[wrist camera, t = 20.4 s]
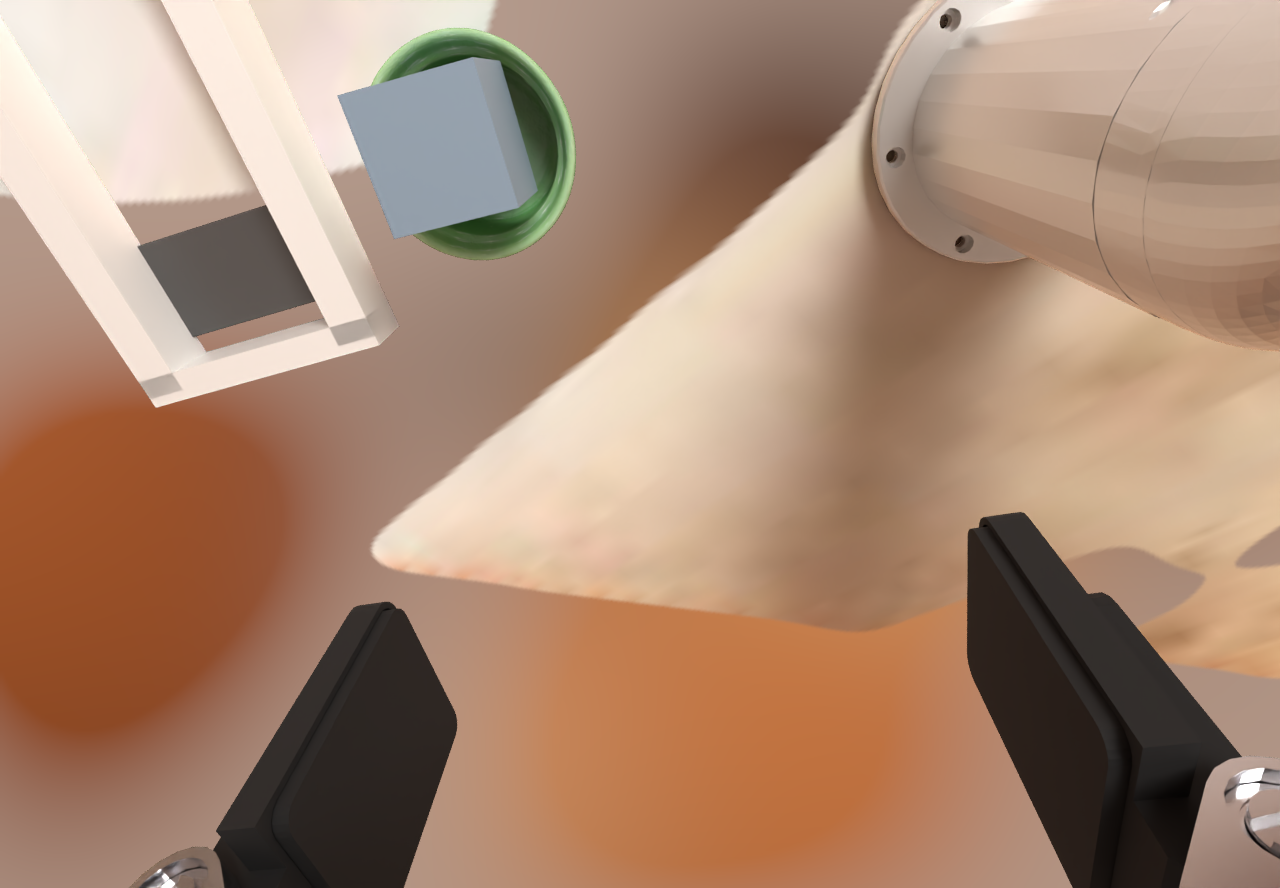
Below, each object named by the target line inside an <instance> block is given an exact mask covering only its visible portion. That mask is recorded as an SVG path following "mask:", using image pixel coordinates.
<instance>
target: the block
mask: <svg viewBox="0 0 1280 888" xmlns="http://www.w3.org/2000/svg"><path fill="white" fill-rule="evenodd" d="M338 98H339V101H340V104H341V106H342V109H343V111H344V114H345V116H346V119H347V121H348V124H349V126H350V129H351V131H352V134H353V136H354V139H355V141H356V144H357V146H358V149H359V151H360V154H361V157H362V159H363V162H364V164H365V167H366V169H367V171H368V174H369V177H370V179H371V182H372V184H373V187H374V189H375V192H376V194H377V196H378V199H379V202H380V204H381V207H382V209H383V212H384V215H385V217H386V220H387V222H388V224H389V227H390V230H391V232H392V235H393V237H394V239H396V238H401V237H405V236H409V235H413V234H417V233H421V232H425V231H429V230H432V229H436V228H440V227H444V226H448V225H452V224H456V223H460V222H464V221H468V220H472V219H476V218H480V217H484V216H488V215H492V214H496V213H500V212H504V211H508V210H512V209H516V208H519V207H520V206H521V205H523V204H524V203H525V202H526V201H527V200H528V199H529V198H530V197H531V196H533V195H534V194H535V193H536V192H537V191H538V189H537V186H536V182H535V179H534V175H533V172H532V168H531V165H530V162H529V158H528V155H527V151H526V148H525V144H524V141H523V138H522V134H521V131H520V127H519V124H518V120H517V117H516V114H515V110H514V107H513V103H512V100H511V96H510V93H509V90H508V86H507V83H506V79H505V76H504V72H503V69H502V66H501V62H500V61H498V60H491V59H483V58H476V57H471V58H468V59H464V60H461V61H457V62H454V63H450V64H447V65H443V66H440V67H436V68H433V69H429V70H425V71H422V72H418V73H415V74H411V75H408V76H404V77H401V78H397V79H394V80H390V81H387V82H383V83H380V84H376V85H373V86H369V87H366V88H362V89H359V90H355V91H352V92H348V93H345V94H341V95H338Z"/></svg>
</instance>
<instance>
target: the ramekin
mask: <svg viewBox="0 0 1280 888" xmlns="http://www.w3.org/2000/svg"><path fill="white" fill-rule="evenodd" d="M471 57H476V58H483V59H491V60H498V61H500V62H501V66H502V69H503V72H504V76H505V79H506V83H507V86H508V90H509V93H510V96H511V100H512V103H513V107H514V110H515V114H516V117H517V120H518V124H519V127H520V131H521V134H522V138H523V141H524V144H525V148H526V151H527V155H528V158H529V162H530V165H531V168H532V172H533V175H534V179H535V182H536V186H537V189H538V191H537V192H536V193H535V194H534V195H533V196H531V197H530V198H529V199H528V200H527V201H526V202H525V203H524V204H523V205H521V206H520V207H519V208H516V209H512V210H508V211H504V212H500V213H496V214H492V215H488V216H484V217H480V218H476V219H472V220H468V221H464V222H460V223H456V224H452V225H448V226H444V227H440V228H436V229H432V230H429V231H425V232H421V233H417V234H413V235H414V236H415V237H416V238H418V239H419V240H421V241H422V242H424V243H425V244H427V245H428V246H430V247H432V248H434V249H436V250H438V251H440V252H443V253H446V254H448V255H452V256H455V257H460V258H464V259H471V260H493V259H499V258H503V257H507V256H511V255H513V254H516V253H518V252H520V251H522V250H524V249H526V248H528V247H530V246H531V245H533V244H534V243H536V242H537V241H538V240H540V239H541V238H542V237H543V236H544V235H545V234H546V233H547V232H548V231H549V230H550V229H551V227H552V226H553V225H554V224H555V223H556V221H557V219H558V218H559V217H560V215H561V213H562V211H563V210H564V208H565V206H566V203H567V201H568V198H569V196H570V192H571V189H572V185H573V181H574V176H575V167H576V149H575V140H574V133H573V128H572V124H571V120H570V117H569V114H568V111H567V109H566V107H565V104H564V102H563V100H562V98H561V96H560V94H559V92H558V91H557V89H556V88H555V86H554V85H553V83H552V82H551V80H550V79H549V78H548V76H547V75H546V74H545V73H544V71H543V70H542V69H541V68H540V67H539V66H538V65H537V64H536V63H535V62H534V61H533V60H532V59H531V58H530V57H529V56H528V55H527V54H525V53H524V52H523V51H522V50H520V49H519V48H517V47H516V46H514V45H513V44H511V43H510V42H508V41H506V40H504V39H502V38H499V37H497V36H495V35H492V34H490V33H487V32H483V31H479V30H475V29H468V28H447V29H441V30H436V31H432V32H429V33H426V34H423V35H421V36H419V37H417V38H415V39H413V40H411V41H410V42H408V43H406V44H405V45H404V46H402V47H401V48H400V49H398V50H397V51H396V52H395V53H394V54H393V55H392V56H391V57H390V58H389V59H388V60H387V61H386V62H385V63H384V65H383V66H382V68H381V69H380V70H379V71H378V73H377V75H376V77H375V78H374V80H373V82H372V85H371V86H373V85H376V84H380V83H383V82H387V81H390V80H394V79H397V78H401V77H404V76H408V75H411V74H415V73H418V72H422V71H425V70H429V69H433V68H436V67H440V66H443V65H447V64H450V63H454V62H457V61H461V60H464V59H468V58H471Z"/></svg>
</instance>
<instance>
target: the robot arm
mask: <svg viewBox="0 0 1280 888" xmlns="http://www.w3.org/2000/svg"><path fill="white" fill-rule="evenodd" d="M943 15H946V16H947V18H948V24H947V25H946V27H945V28H941V27H940V24H939V23H940V18H941V16H943ZM871 142H872V156H873V168H874V172H875V176H876V179H877V183H878V187H879V191H880V193H881V195H882V197H883V199H884V201H885V203H886V205H887V207H888V209H889V211H890V213H891V214H892V216H893V217H894V218H895V219H896V220H897V222H898V223H899V224H900V225H901V226H902V228H903V229H904V230H905V231H906V232H907V233H908V234H910V235H911V236H912V237H914V238H915V239H916V240H918V241H919V242H920V243H922V244H923V245H924V246H926V247H928V248H930V249H932V250H934V251H935V252H937V253H939V254H941V255H944V256H947V257H949V258H952V259H955V260H959V261H964V262H973V263H982V264H990V263H1003V262H1012V261H1016V260H1020V259H1024V258H1028V257H1030V258H1032V259H1035V260H1037V261H1039V262H1041V263H1043V264H1045V265H1047V266H1049V267H1051V268H1054V269H1056V270H1058V271H1060V272H1062V273H1064V274H1066V275H1068V276H1070V277H1073V278H1075V279H1077V280H1079V281H1081V282H1083V283H1085V284H1087V285H1090V286H1092V287H1094V288H1096V289H1098V290H1100V291H1102V292H1104V293H1106V294H1109V295H1111V296H1113V297H1115V298H1117V299H1119V300H1121V301H1123V302H1125V303H1128V304H1130V305H1132V306H1134V307H1136V308H1138V309H1140V310H1142V311H1145V312H1147V313H1149V314H1151V315H1153V316H1155V317H1158V318H1161V319H1164V320H1166V321H1168V322H1170V323H1172V324H1175V325H1177V326H1179V327H1181V328H1183V329H1186V330H1188V331H1191V332H1193V333H1196V334H1198V335H1201V336H1203V337H1206V338H1209V339H1211V340H1214V341H1218V342H1221V343H1225V344H1229V345H1233V346H1237V347H1242V348H1247V349H1255V350H1265V351H1280V0H938V1H937V2H936V3H935V4H934V5H933V6H932V7H931V9H930V10H929V11H928V12H927V13H926V14H925V15H924V16H923V17H922V18H921V19H920V20H919V22H918V23H917V24H916V25H915V26H914V28H913V29H912V31H911V32H910V34H909V35H908V37H907V38H906V40H905V41H904V43H903V44H902V46H901V47H900V49H899V50H898V52H897V53H896V55H895V57H894V59H893V62H892V64H891V66H890V68H889V70H888V72H887V75H886V77H885V79H884V81H883V84H882V87H881V91H880V94H879V98H878V101H877V105H876V108H875V113H874V122H873V131H872V140H871ZM891 150H893V151H894V153H895V157H894V159H893V160H892V161H890V162H888V161H887V160H886V155H887V154H888V152H889V151H891ZM960 236H961V237H962V240H961V242H960V244H958V245H955V242H956V240H957V239H958V238H959V237H960ZM967 603H968V604H967V658H968V664H969V668H970V671H971V674H972V677H973V679H974V682H975V684H976V686H977V688H978V690H979V692H980V694H981V696H982V698H983V701H984V703H985V705H986V707H987V709H988V711H989V713H990V715H991V717H992V719H993V721H994V724H995V726H996V728H997V730H998V732H999V734H1000V736H1001V738H1002V740H1003V742H1004V744H1005V747H1006V749H1007V751H1008V753H1009V755H1010V757H1011V759H1012V761H1013V763H1014V765H1015V768H1016V770H1017V772H1018V774H1019V776H1020V778H1021V780H1022V782H1023V784H1024V786H1025V788H1026V791H1027V793H1028V795H1029V797H1030V799H1031V801H1032V803H1033V805H1034V807H1035V810H1036V812H1037V814H1038V816H1039V818H1040V820H1041V822H1042V824H1043V826H1044V828H1045V830H1046V833H1047V834H1048V837H1049V839H1050V841H1051V843H1052V845H1053V847H1054V849H1055V851H1056V854H1057V855H1058V858H1059V860H1060V862H1061V864H1062V866H1063V868H1064V870H1065V872H1066V874H1067V877H1068V879H1069V881H1070V883H1071V885H1072V887H1073V888H1280V759H1278V758H1272V757H1260V756H1246V757H1242V756H1241V755H1240V754H1239V753H1238V752H1237V750H1236V749H1235V748H1234V747H1233V746H1232V744H1231V743H1230V742H1229V740H1228V739H1227V738H1226V737H1225V736H1224V734H1223V733H1222V732H1221V731H1220V730H1219V728H1218V727H1217V726H1216V725H1215V723H1214V722H1213V721H1212V720H1211V719H1210V717H1209V716H1208V715H1207V713H1206V712H1205V711H1204V710H1203V709H1202V707H1201V706H1200V705H1199V704H1198V702H1197V701H1196V700H1195V699H1194V697H1193V696H1192V695H1191V694H1190V693H1189V691H1188V690H1187V689H1186V688H1185V686H1184V685H1183V684H1182V683H1181V682H1180V680H1179V679H1178V678H1177V677H1176V676H1175V674H1174V673H1173V672H1172V670H1171V669H1170V668H1169V667H1168V666H1167V664H1166V663H1165V662H1164V661H1163V659H1162V658H1161V657H1160V656H1159V654H1158V653H1157V652H1156V651H1155V650H1154V648H1153V647H1152V646H1151V645H1150V643H1149V642H1148V641H1147V640H1146V639H1145V637H1144V636H1143V635H1142V634H1141V632H1140V631H1139V630H1138V629H1137V627H1136V626H1135V625H1134V624H1133V623H1132V621H1131V620H1130V619H1129V618H1128V616H1127V615H1126V614H1125V613H1124V612H1123V610H1122V609H1121V608H1120V607H1119V605H1118V604H1117V603H1116V602H1115V601H1114V600H1113V599H1112V598H1111V597H1110V596H1108V595H1106V594H1104V593H1102V592H1101V593H1094V594H1087V593H1086V591H1085V590H1084V589H1083V587H1082V586H1081V585H1080V584H1079V582H1078V581H1077V580H1076V578H1075V577H1074V576H1073V574H1072V573H1071V572H1070V571H1069V569H1068V568H1067V567H1066V565H1065V564H1064V563H1063V562H1062V560H1061V559H1060V558H1059V556H1058V555H1057V554H1056V552H1055V551H1054V550H1053V549H1052V547H1051V546H1050V545H1049V543H1048V542H1047V541H1046V540H1045V538H1044V537H1043V536H1042V534H1041V533H1040V532H1039V530H1038V529H1037V528H1036V527H1035V525H1034V524H1033V523H1032V521H1031V520H1030V519H1029V518H1028V516H1027V515H1026V514H1025V513H1022V512H1018V513H1011V514H1003V515H996V516H989V517H983V518H982V519H981V520H980V523H979V528H973V529H970V530H969V532H968V591H967ZM456 731H457V718H456V714H455V711H454V709H453V707H452V705H451V703H450V701H449V699H448V697H447V695H446V693H445V692H444V689H443V687H442V685H441V684H440V681H439V679H438V677H437V675H436V673H435V671H434V669H433V667H432V665H431V663H430V661H429V659H428V657H427V655H426V653H425V651H424V649H423V647H422V645H421V643H420V641H419V639H418V637H417V636H416V633H415V632H414V629H413V627H412V625H411V623H410V621H409V619H408V617H407V615H406V614H405V612H404V611H403V610H402V609H396V607H395V606H394V605H393V604H392V603H390V602H381V603H374V604H367V605H360V606H356V607H354V608H353V609H352V610H351V612H350V613H349V615H348V616H347V618H346V620H345V621H344V623H343V624H342V626H341V628H340V629H339V631H338V633H337V634H336V636H335V637H334V639H333V641H332V642H331V644H330V646H329V647H328V649H327V651H326V652H325V654H324V655H323V657H322V659H321V660H320V662H319V664H318V665H317V667H316V668H315V670H314V672H313V673H312V675H311V677H310V678H309V680H308V682H307V683H306V685H305V686H304V688H303V690H302V691H301V693H300V695H299V696H298V698H297V699H296V701H295V703H294V704H293V706H292V708H291V709H290V711H289V712H288V714H287V716H286V717H285V719H284V721H283V722H282V724H281V726H280V727H279V729H278V730H277V732H276V734H275V735H274V737H273V739H272V740H271V742H270V743H269V745H268V747H267V748H266V750H265V752H264V753H263V755H262V757H261V758H260V760H259V762H258V763H257V765H256V767H255V768H254V770H253V771H252V773H251V774H250V776H249V778H248V779H247V781H246V783H245V784H244V786H243V788H242V789H241V791H240V793H239V794H238V796H237V797H236V799H235V801H234V802H233V804H232V805H231V807H230V809H229V810H228V812H227V814H226V815H225V817H224V819H223V820H222V822H221V823H220V825H219V827H218V828H217V830H216V832H217V833H218V834H219V835H220V836H221V838H220V840H219V841H218V843H217V845H216V846H215V848H214V850H211V849H209V848H207V847H191V848H188V849H185V850H181V851H178V852H176V853H174V854H172V855H170V856H169V857H166V858H165V859H163V860H161V861H159V862H158V863H157V864H155V865H154V866H153V867H151V868H150V869H149V870H147V871H146V872H145V873H144V874H142V875H141V876H140V877H139V878H138V879H137V880H136V881H135V882H134V883H133V884H132V885H131V886H130V887H129V888H404V885H405V882H406V879H407V876H408V873H409V871H410V867H411V865H412V862H413V859H414V856H415V853H416V850H417V847H418V844H419V841H420V838H421V835H422V832H423V829H424V827H425V824H426V821H427V817H428V815H429V812H430V809H431V806H432V803H433V800H434V797H435V794H436V791H437V788H438V785H439V782H440V780H441V777H442V774H443V771H444V768H445V765H446V762H447V759H448V756H449V753H450V750H451V747H452V744H453V741H454V738H455V735H456Z"/></svg>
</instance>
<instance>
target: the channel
mask: <svg viewBox="0 0 1280 888" xmlns="http://www.w3.org/2000/svg"><path fill="white" fill-rule="evenodd" d="M161 1H162V3H163V5H164V7H165V9H166V11H167V13H168V15H169V17H170V19H171V21H172V23H173V25H174V26H175V28H176V30H177V32H178V34H179V36H180V38H181V40H182V42H183V44H184V46H185V48H186V50H187V52H188V54H189V56H190V58H191V60H192V62H193V63H194V65H195V67H196V69H197V71H198V73H199V75H200V77H201V79H202V81H203V83H204V85H205V87H206V89H207V91H208V93H209V95H210V97H211V99H212V100H213V102H214V104H215V106H216V108H217V110H218V112H219V114H220V116H221V118H222V120H223V122H224V124H225V126H226V128H227V130H228V132H229V134H230V136H231V137H232V139H233V141H234V143H235V145H236V147H237V149H238V151H239V153H240V155H241V157H242V159H243V161H244V163H245V165H246V167H247V169H248V171H249V173H250V174H251V176H252V178H253V180H254V182H255V184H256V186H257V188H258V190H259V192H260V194H261V196H262V198H263V200H264V202H265V204H266V205H265V206H262V207H259V208H256V209H252V210H249V211H246V212H243V213H240V214H237V215H234V216H231V217H228V218H224V219H221V220H218V221H215V222H212V223H209V224H206V225H202V226H200V227H196V228H193V229H190V230H187V231H184V232H181V233H178V234H174V235H172V236H168V237H165V238H162V239H159V240H156V241H153V242H149V243H146V244H143V245H141V244H140V243H139V241H138V240H137V238H136V237H135V235H134V233H133V232H132V230H131V228H130V226H129V225H128V223H127V222H126V220H125V218H124V217H123V215H122V214H121V212H120V210H119V208H118V207H117V205H116V204H115V202H114V200H113V199H112V197H111V195H110V194H109V192H108V190H107V189H106V187H105V186H104V184H103V182H102V181H101V179H100V177H99V176H98V174H97V172H96V171H95V169H94V168H93V166H92V164H91V163H90V161H89V159H88V158H87V156H86V154H85V153H84V151H83V149H82V148H81V146H80V145H79V143H78V141H77V140H76V138H75V136H74V135H73V133H72V131H71V130H70V128H69V127H68V125H67V123H66V122H65V120H64V118H63V117H62V115H61V113H60V112H59V110H58V109H57V107H56V105H55V104H54V102H53V100H52V99H51V97H50V95H49V94H48V92H47V91H46V89H45V87H44V86H43V84H42V82H41V81H40V79H39V77H38V76H37V74H36V73H35V71H34V69H33V68H32V66H31V64H30V63H29V61H28V59H27V58H26V56H25V55H24V53H23V51H22V50H21V48H20V46H19V45H18V43H17V41H16V40H15V38H14V37H13V35H12V33H11V32H10V30H9V28H8V27H7V25H6V23H5V22H4V20H3V19H2V17H1V15H0V177H1V179H2V180H3V181H4V183H5V184H6V186H7V187H8V189H9V190H10V192H11V193H12V195H13V196H14V198H15V199H16V201H17V202H18V204H19V205H20V207H21V208H22V210H23V211H24V213H25V214H26V215H27V217H28V219H29V220H30V221H31V223H32V225H33V226H34V227H35V229H36V230H37V232H38V233H39V235H40V236H41V238H42V239H43V241H44V242H45V243H46V245H47V247H48V248H49V250H50V251H51V253H52V254H53V256H54V257H55V258H56V260H57V262H58V263H59V265H60V266H61V267H62V269H63V271H64V272H65V273H66V275H67V276H68V278H69V279H70V281H71V282H72V284H73V285H74V287H75V288H76V290H77V291H78V293H79V294H80V296H81V297H82V299H83V300H84V301H85V303H86V305H87V306H88V308H89V309H90V311H91V312H92V314H93V315H94V317H95V318H96V319H97V321H98V322H99V324H100V325H101V327H102V328H103V330H104V331H105V333H106V334H107V336H108V337H109V339H110V340H111V342H112V343H113V345H114V346H115V348H116V349H117V351H118V352H119V354H120V355H121V357H122V358H123V359H124V361H125V363H126V364H127V365H128V367H129V368H130V370H131V371H132V373H133V374H134V376H135V377H136V379H137V380H138V382H139V383H140V385H141V386H142V388H143V389H144V391H145V392H146V394H147V395H148V397H149V398H150V400H151V401H152V402H153V404H154V405H155V407H160V406H164V405H167V404H171V403H174V402H178V401H181V400H185V399H189V398H192V397H196V396H199V395H203V394H207V393H210V392H214V391H217V390H221V389H224V388H228V387H232V386H235V385H239V384H243V383H246V382H250V381H253V380H257V379H260V378H264V377H268V376H271V375H274V374H278V373H282V372H285V371H289V370H292V369H296V368H299V367H303V366H307V365H310V364H314V363H318V362H322V361H325V360H329V359H332V358H336V357H339V356H343V355H347V354H350V353H354V352H357V351H361V350H365V349H368V348H372V347H375V346H379V345H380V344H381V343H382V342H383V341H385V340H386V339H387V338H388V337H389V336H390V335H391V334H392V333H393V332H394V331H395V330H396V329H397V328H398V327H399V324H398V322H397V320H396V318H395V315H394V313H393V311H392V309H391V307H390V305H389V302H388V300H387V298H386V296H385V294H384V292H383V290H382V287H381V285H380V283H379V281H378V279H377V277H376V275H375V272H374V270H373V268H372V266H371V264H370V262H369V259H368V257H367V255H366V253H365V251H364V249H363V246H362V244H361V242H360V240H359V238H358V236H357V233H356V231H355V229H354V227H353V225H352V223H351V221H350V218H349V216H348V214H347V212H346V210H345V208H344V206H343V203H342V201H341V199H340V197H339V195H338V193H337V190H336V188H335V186H334V184H333V182H332V180H331V177H330V175H329V173H328V171H327V169H326V167H325V164H324V162H323V160H322V158H321V156H320V154H319V151H318V149H317V147H316V145H315V143H314V141H313V138H312V136H311V134H310V132H309V130H308V128H307V126H306V123H305V121H304V119H303V117H302V115H301V113H300V110H299V108H298V106H297V104H296V102H295V100H294V97H293V95H292V93H291V91H290V89H289V87H288V85H287V82H286V80H285V78H284V76H283V74H282V72H281V69H280V67H279V65H278V63H277V61H276V59H275V56H274V54H273V52H272V50H271V48H270V46H269V44H268V41H267V39H266V37H265V35H264V33H263V31H262V28H261V26H260V24H259V22H258V20H257V18H256V15H255V13H254V11H253V9H252V7H251V5H250V3H249V0H161ZM314 301H316V303H317V305H318V307H319V309H320V311H321V313H322V315H323V317H324V318H323V319H320V320H316V321H313V322H309V323H306V324H302V325H299V326H296V327H292V328H289V329H285V330H281V331H278V332H274V333H271V334H268V335H264V336H261V337H257V338H254V339H250V340H247V341H243V342H240V343H236V344H233V345H229V346H226V347H223V348H219V349H216V350H212V351H209V352H206V351H205V349H204V348H203V346H202V344H201V343H200V341H199V340H198V338H197V336H199V335H202V334H205V333H209V332H212V331H216V330H219V329H222V328H226V327H229V326H233V325H236V324H239V323H243V322H246V321H250V320H253V319H257V318H260V317H263V316H266V315H270V314H274V313H277V312H280V311H284V310H287V309H291V308H294V307H297V306H300V305H304V304H307V303H311V302H314Z"/></svg>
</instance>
